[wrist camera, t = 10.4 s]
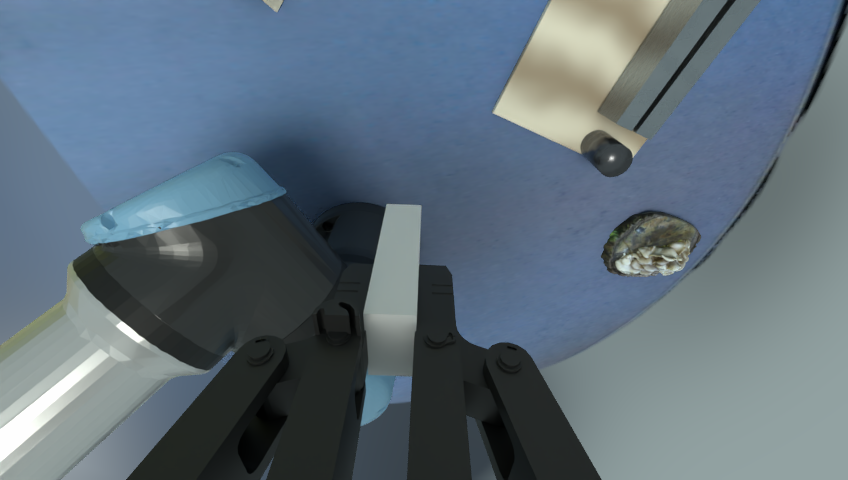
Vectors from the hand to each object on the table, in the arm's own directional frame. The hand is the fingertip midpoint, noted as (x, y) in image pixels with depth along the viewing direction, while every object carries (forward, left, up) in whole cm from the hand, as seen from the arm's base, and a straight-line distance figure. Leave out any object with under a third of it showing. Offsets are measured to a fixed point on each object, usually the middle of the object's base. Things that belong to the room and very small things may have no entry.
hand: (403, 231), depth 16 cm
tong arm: (+12, -21, -25) cm, 35 cm away
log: (-11, -34, -27) cm, 44 cm away
